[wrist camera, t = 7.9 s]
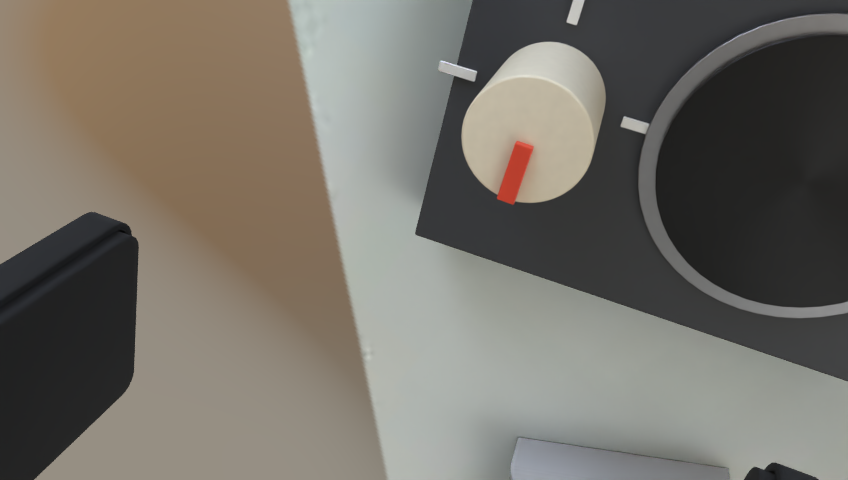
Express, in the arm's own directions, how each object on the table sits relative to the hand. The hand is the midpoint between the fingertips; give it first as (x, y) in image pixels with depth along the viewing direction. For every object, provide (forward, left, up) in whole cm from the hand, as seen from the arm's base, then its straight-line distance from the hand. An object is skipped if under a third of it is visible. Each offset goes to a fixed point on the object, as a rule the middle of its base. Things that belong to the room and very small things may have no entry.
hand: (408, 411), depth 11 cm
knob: (0, 0, -18) cm, 18 cm away
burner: (-9, 0, -18) cm, 20 cm away
